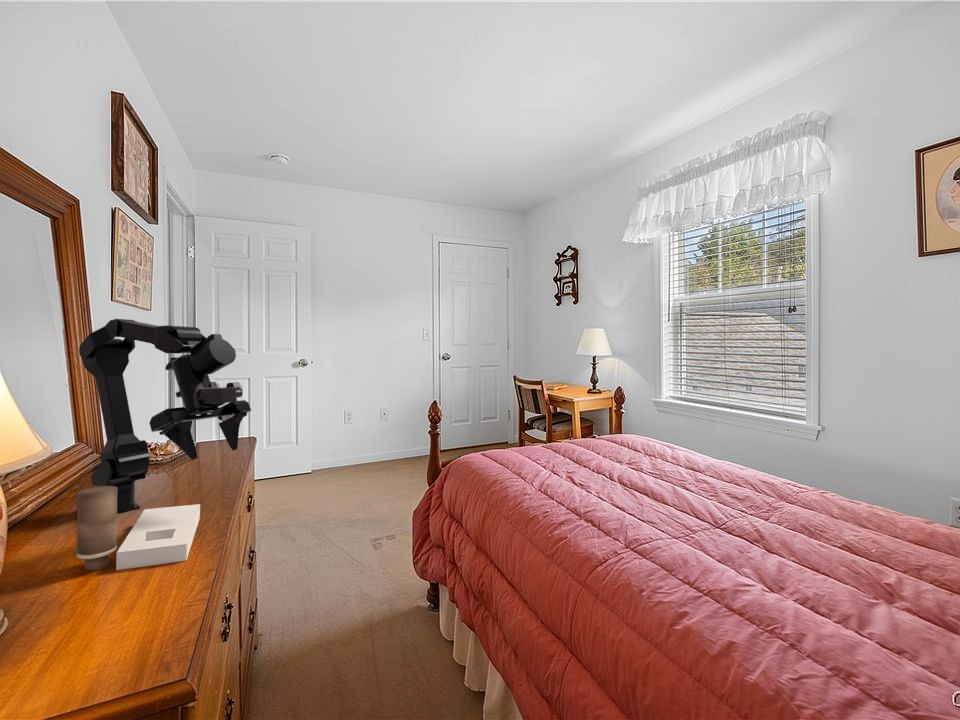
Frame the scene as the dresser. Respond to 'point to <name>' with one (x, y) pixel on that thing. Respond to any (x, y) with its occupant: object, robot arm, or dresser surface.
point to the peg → (96, 526)
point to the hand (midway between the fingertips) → (215, 454)
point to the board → (159, 537)
